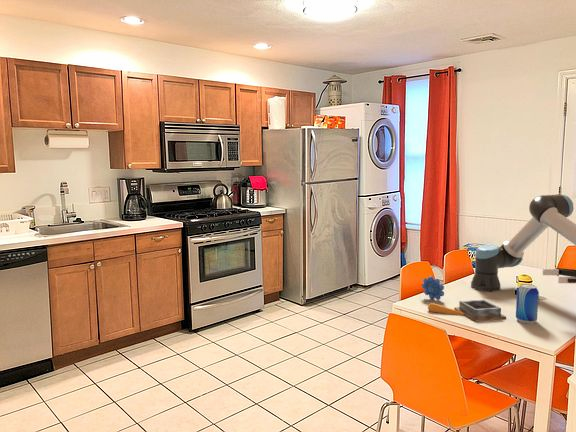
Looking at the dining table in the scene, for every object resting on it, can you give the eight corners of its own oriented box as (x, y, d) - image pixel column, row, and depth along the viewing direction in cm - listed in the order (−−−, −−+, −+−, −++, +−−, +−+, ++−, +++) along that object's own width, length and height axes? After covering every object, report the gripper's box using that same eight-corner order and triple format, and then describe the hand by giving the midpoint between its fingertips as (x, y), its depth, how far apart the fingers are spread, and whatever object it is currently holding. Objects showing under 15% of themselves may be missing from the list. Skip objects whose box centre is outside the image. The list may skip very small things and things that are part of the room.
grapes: (418, 299, 230) (419, 276, 228) (422, 296, 235) (423, 274, 234) (441, 303, 223) (442, 280, 222) (445, 300, 229) (446, 277, 227)
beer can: (528, 325, 193) (531, 289, 191) (511, 319, 201) (513, 284, 199) (541, 322, 197) (543, 286, 195) (523, 316, 205) (525, 282, 203)
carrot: (427, 313, 212) (427, 306, 210) (428, 307, 216) (429, 300, 214) (472, 323, 205) (473, 316, 202) (472, 317, 208) (474, 309, 206)
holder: (484, 307, 217) (484, 298, 217) (506, 318, 202) (506, 309, 201) (454, 309, 214) (454, 300, 214) (473, 321, 199) (474, 311, 198)
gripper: (620, 293, 182) (565, 292, 184) (584, 277, 207) (536, 277, 208) (621, 275, 181) (566, 274, 183) (585, 261, 206) (537, 261, 208)
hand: (550, 275), depth 196 cm, fingers open, 13 cm apart
